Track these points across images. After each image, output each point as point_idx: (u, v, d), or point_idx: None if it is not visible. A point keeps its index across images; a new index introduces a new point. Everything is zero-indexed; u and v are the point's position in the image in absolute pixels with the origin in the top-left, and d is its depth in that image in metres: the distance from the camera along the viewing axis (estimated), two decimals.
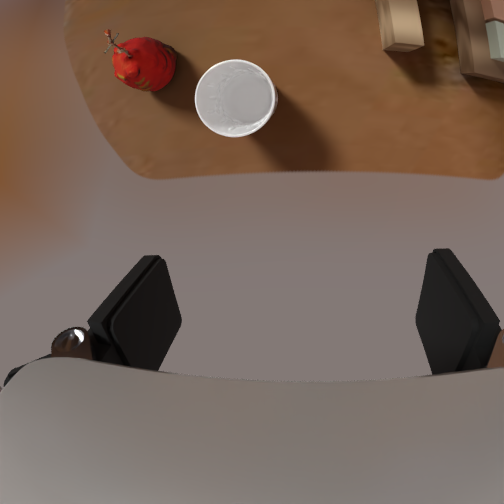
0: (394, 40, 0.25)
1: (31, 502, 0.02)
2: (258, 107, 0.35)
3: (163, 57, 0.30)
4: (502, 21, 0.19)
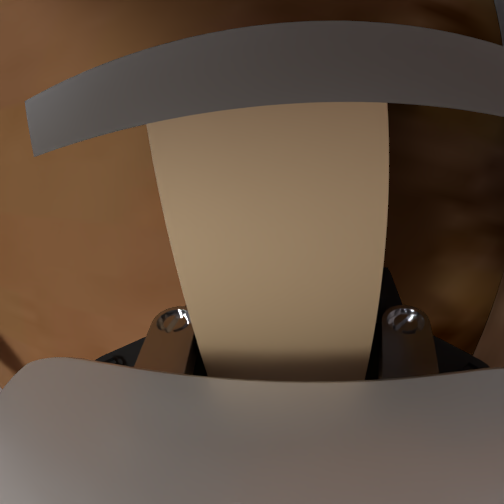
0: None
1: (31, 502, 0.02)
2: None
3: None
4: None
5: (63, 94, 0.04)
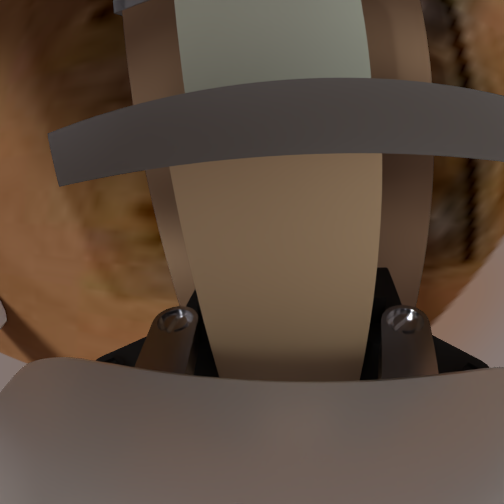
0: None
1: (31, 502, 0.02)
2: None
3: None
4: None
5: (87, 131, 0.05)
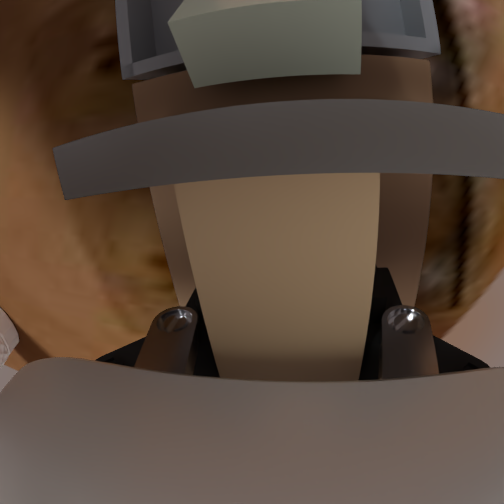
0: None
1: (31, 502, 0.02)
2: None
3: None
4: None
5: (92, 147, 0.05)
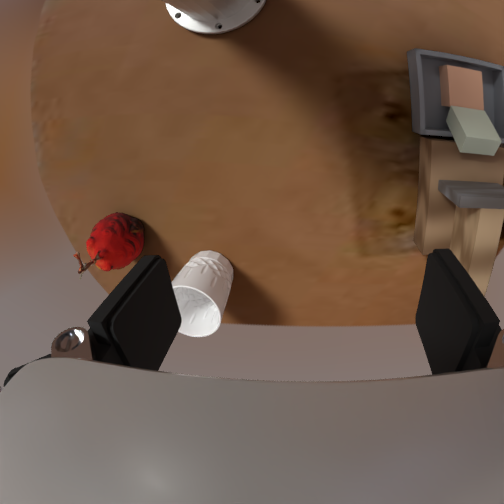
0: None
1: (31, 502, 0.02)
2: None
3: (130, 245, 0.39)
4: None
5: (469, 198, 0.24)
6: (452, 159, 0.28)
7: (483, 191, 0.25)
